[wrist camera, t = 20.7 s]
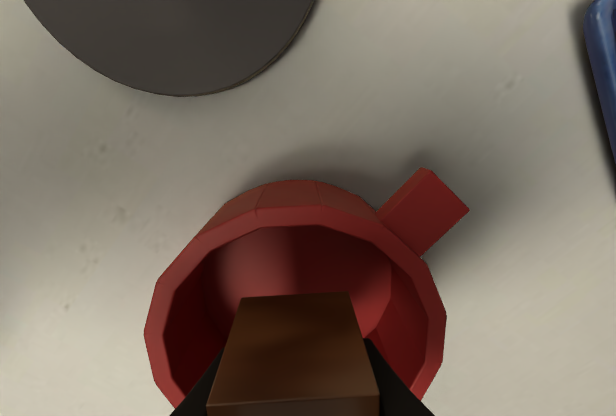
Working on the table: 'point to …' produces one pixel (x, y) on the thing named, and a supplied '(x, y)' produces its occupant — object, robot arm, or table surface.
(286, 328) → the block
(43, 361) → the table surface
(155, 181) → the table surface
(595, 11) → the flower pot
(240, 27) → the lid
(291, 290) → the pot
